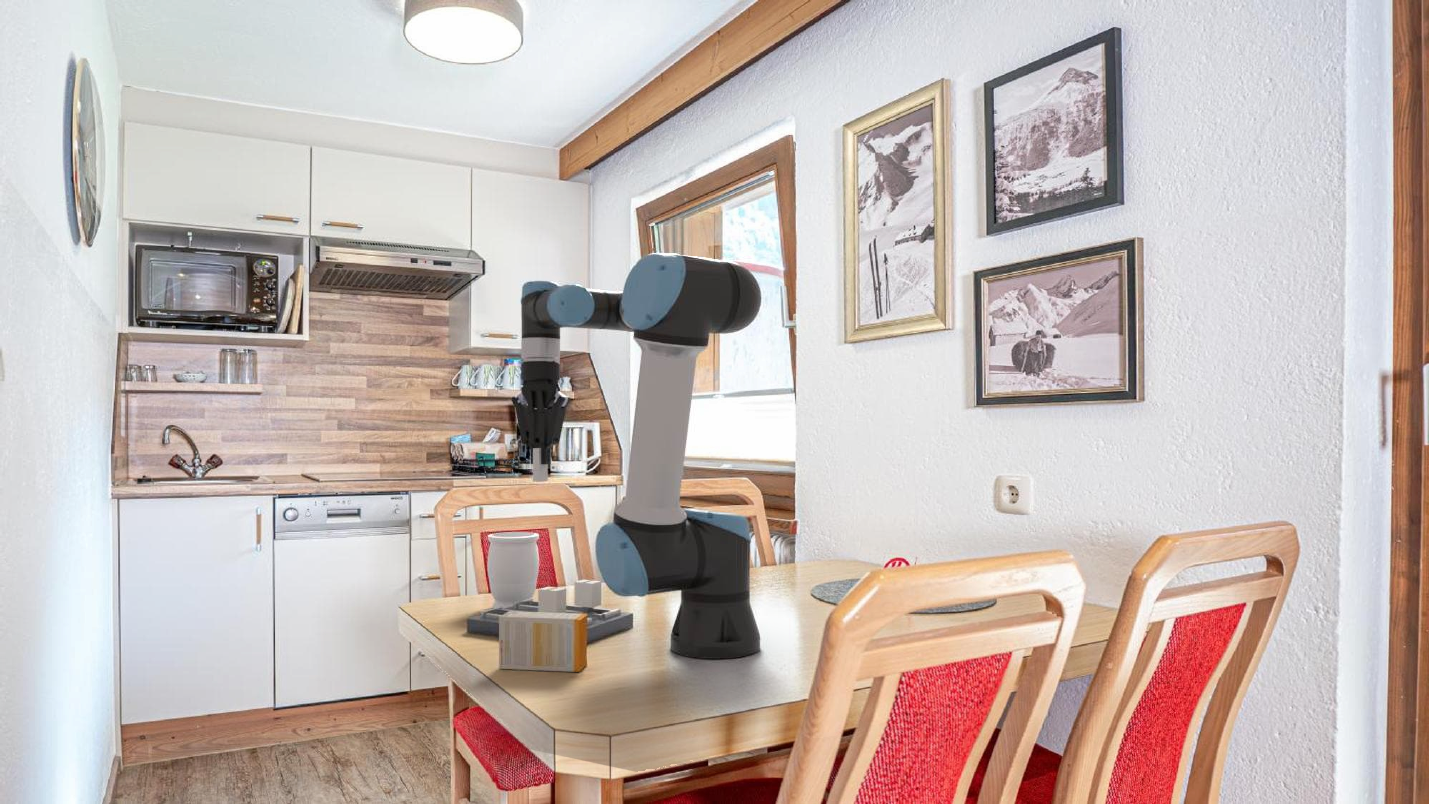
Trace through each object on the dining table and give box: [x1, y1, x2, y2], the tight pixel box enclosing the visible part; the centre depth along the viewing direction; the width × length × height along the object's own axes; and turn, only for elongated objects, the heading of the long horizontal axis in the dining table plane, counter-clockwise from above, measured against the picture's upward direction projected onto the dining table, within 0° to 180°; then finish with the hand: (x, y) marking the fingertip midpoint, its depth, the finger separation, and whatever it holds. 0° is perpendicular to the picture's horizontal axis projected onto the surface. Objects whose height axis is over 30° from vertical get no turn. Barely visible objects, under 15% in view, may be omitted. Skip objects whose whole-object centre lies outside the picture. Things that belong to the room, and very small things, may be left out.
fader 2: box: [574, 579, 602, 613], centre depth 173 cm, size 4×3×6 cm
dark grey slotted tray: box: [466, 598, 634, 644], centre depth 171 cm, size 24×18×4 cm
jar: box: [486, 531, 540, 609], centre depth 191 cm, size 11×10×15 cm
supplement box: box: [498, 611, 588, 673], centre depth 145 cm, size 8×5×13 cm
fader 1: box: [537, 586, 567, 613], centre depth 165 cm, size 4×3×6 cm
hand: (540, 481), depth 183 cm, fingers closed
